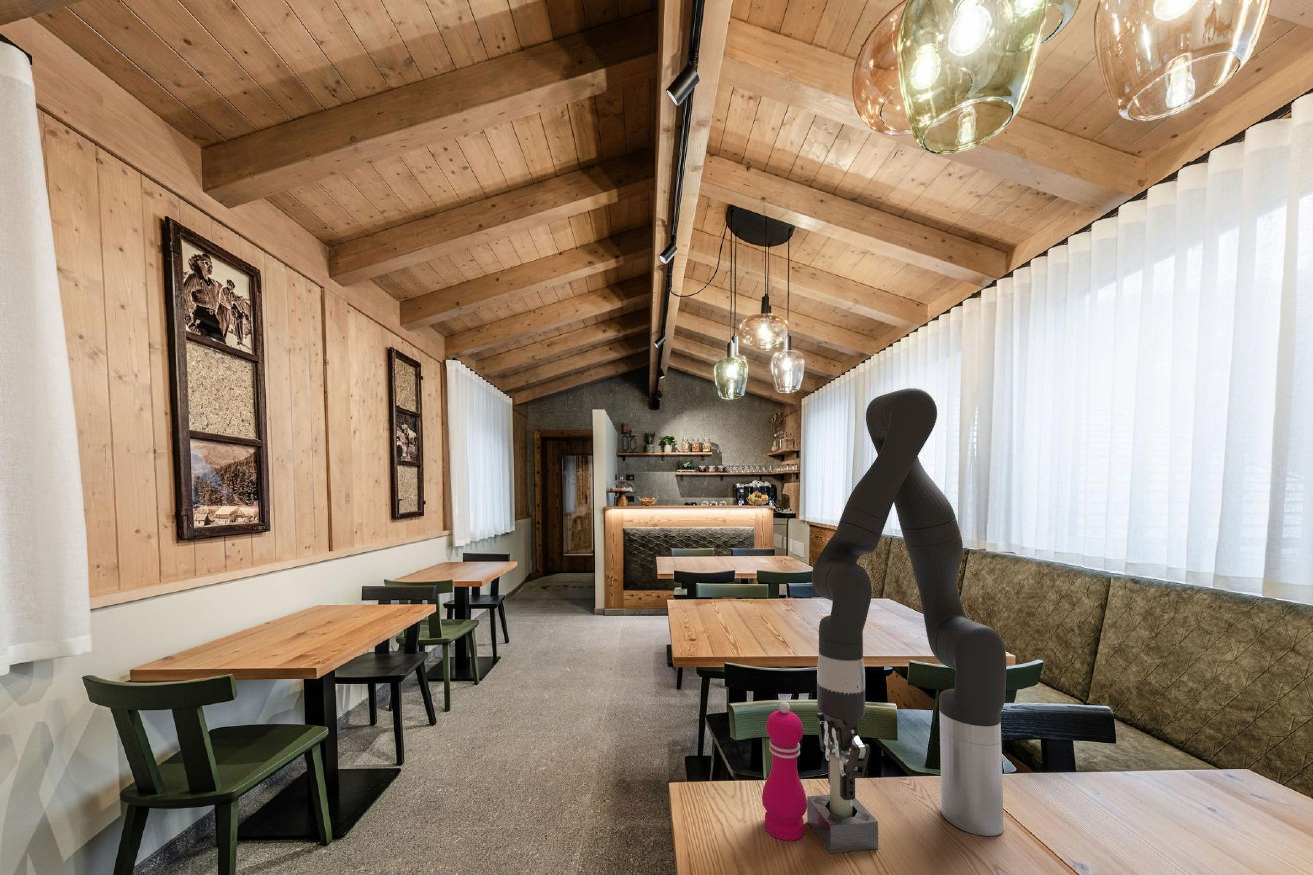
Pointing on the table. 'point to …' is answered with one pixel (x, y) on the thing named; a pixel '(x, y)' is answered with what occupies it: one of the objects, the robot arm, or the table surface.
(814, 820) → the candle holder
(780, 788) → the pepper mill
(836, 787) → the candle
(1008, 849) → the table surface
